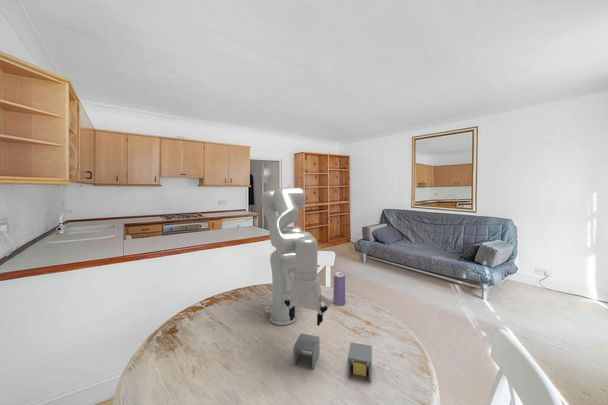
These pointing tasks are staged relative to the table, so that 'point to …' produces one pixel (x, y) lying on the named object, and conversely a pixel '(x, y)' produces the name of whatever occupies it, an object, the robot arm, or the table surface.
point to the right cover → (360, 356)
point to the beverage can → (339, 288)
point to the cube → (359, 368)
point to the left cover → (306, 347)
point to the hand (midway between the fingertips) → (305, 321)
